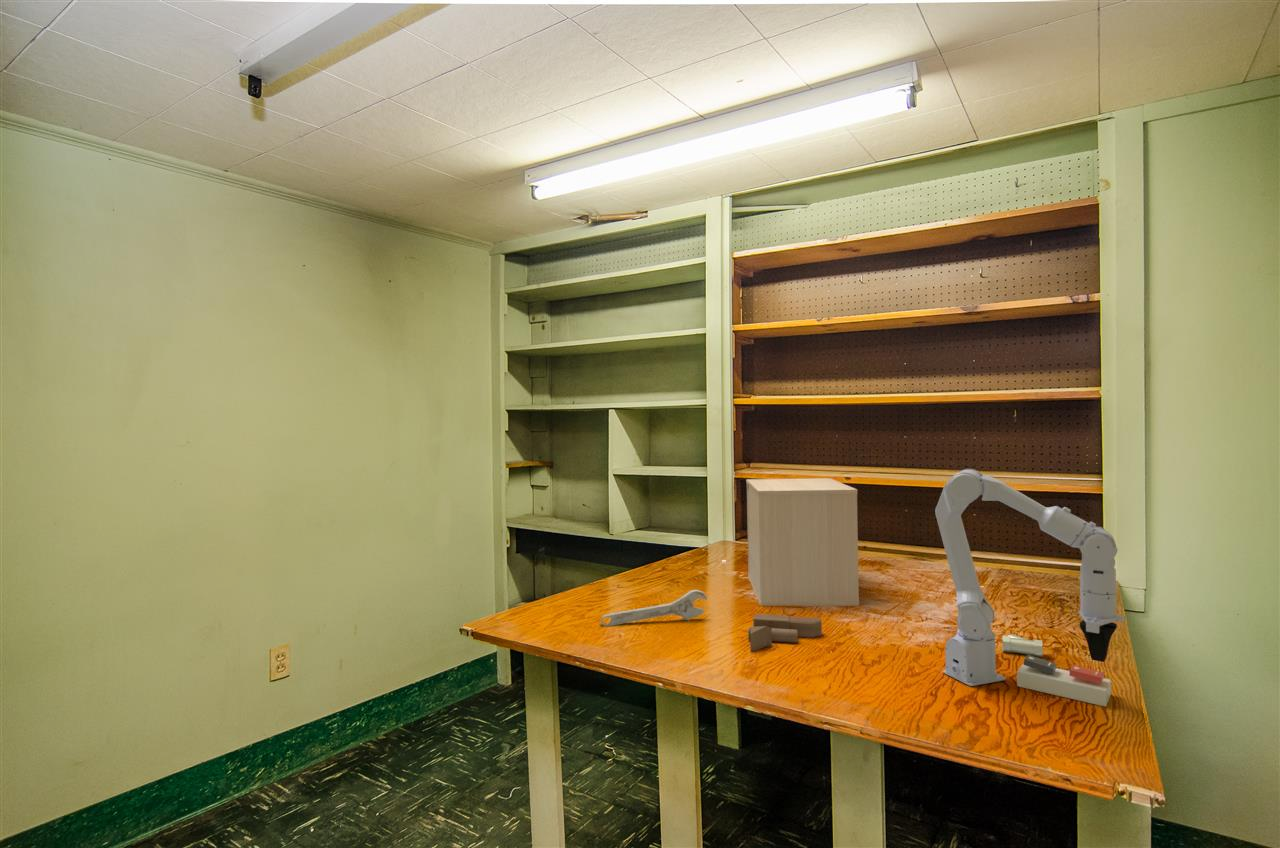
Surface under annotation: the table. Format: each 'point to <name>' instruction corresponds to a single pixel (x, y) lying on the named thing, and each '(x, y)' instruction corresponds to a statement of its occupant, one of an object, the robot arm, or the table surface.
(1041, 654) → the pipe fitting
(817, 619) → the wooden block set
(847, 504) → the beige wooden block
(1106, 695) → the rocker switch panel
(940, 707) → the table surface
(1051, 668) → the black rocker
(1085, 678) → the red rocker
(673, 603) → the wrench
